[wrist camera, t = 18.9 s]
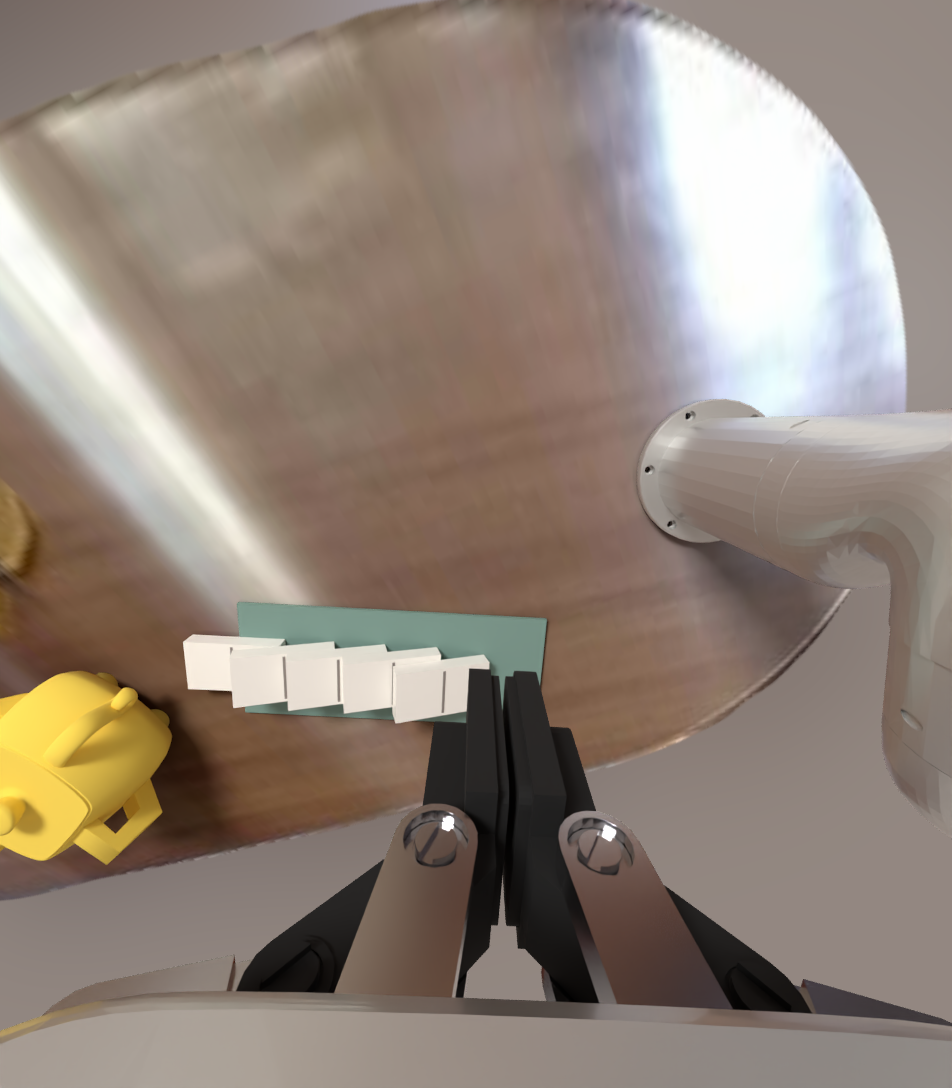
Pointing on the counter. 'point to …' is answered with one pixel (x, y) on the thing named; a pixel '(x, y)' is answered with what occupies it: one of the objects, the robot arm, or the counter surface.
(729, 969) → the robot arm
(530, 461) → the counter surface
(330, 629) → the runner mat
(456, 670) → the domino
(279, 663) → the domino
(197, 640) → the domino
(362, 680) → the domino
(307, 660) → the domino
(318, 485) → the counter surface
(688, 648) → the counter surface
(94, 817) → the teapot
